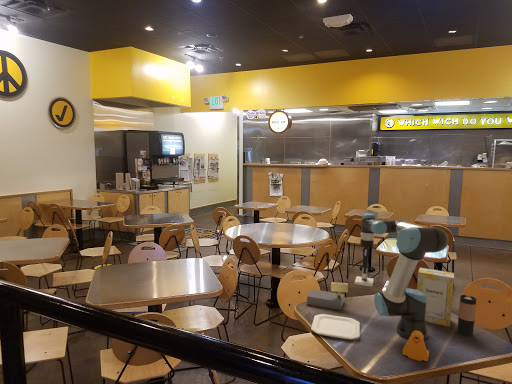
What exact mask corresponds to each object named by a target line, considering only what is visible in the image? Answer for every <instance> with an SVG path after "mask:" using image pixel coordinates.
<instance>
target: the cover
mask: <svg viewBox="0 0 512 384" xmlns="http://www.w3.org/2000/svg"><path fill="white" fill-rule="evenodd" d="M368 265H369V263H368V264H367V275H368V272H369V266H368ZM354 284H355V285H359V286H365V287H373V284H374V278H373V277H372V278H371V277H367V279H363V278H362V276H360V275H359V276H357V275H356V277H355V280H354Z"/></svg>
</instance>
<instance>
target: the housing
mask: <svg viewBox="0 0 512 384" xmlns="http://www.w3.org/2000/svg"><path fill="white" fill-rule="evenodd" d="M306 296H307V297H306V305H311V306H315V307H321V308H328V309H333V310H338V311H342V308H343V306H344V303H345V294H343V293H341V298H337V292H333V291H325V290H319V289H313V288H312V289H311V290H310V291H309V293H308V294H307V295H306Z"/></svg>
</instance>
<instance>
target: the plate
mask: <svg viewBox="0 0 512 384" xmlns="http://www.w3.org/2000/svg"><path fill="white" fill-rule="evenodd" d="M310 329H311V331H312V332H314V333H316V334H317V335H320V336H324V337H325V336H326V337H331V338H336V339H341V340H356V339H359V338H360V337H361V323H360V321H358V320H357V319H354V318H351V317H345V316H339V315H333V314H325V313H319V314H315V315H314V317H313V321H312V323H311V328H310Z"/></svg>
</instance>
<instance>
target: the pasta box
mask: <svg viewBox="0 0 512 384" xmlns="http://www.w3.org/2000/svg"><path fill="white" fill-rule="evenodd" d="M454 283H455V273H454V272H450V271H443V270H438V269H430V268H424V267H419V269H418V274H417V286H416V290H418V291H420V292H422V293H424V294H425V295H426V300H427V304H426V312H425V323H426V322H427V323H430V324H435V325H440V326H445V327H449V328H450V327H451V317H452V304H453V294H454Z"/></svg>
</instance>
